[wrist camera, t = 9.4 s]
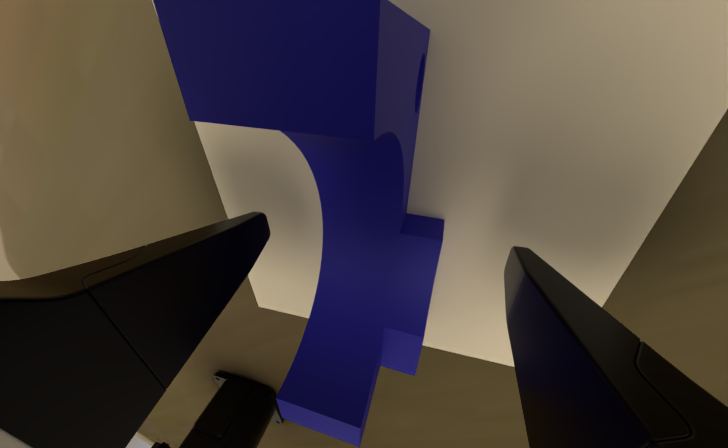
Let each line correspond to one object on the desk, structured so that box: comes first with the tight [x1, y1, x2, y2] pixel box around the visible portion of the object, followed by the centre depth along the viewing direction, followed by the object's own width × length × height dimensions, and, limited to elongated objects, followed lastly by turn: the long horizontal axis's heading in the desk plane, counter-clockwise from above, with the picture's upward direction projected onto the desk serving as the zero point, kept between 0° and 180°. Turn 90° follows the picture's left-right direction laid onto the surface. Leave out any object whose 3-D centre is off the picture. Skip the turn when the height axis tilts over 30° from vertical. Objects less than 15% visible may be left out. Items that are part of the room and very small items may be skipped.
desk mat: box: [152, 0, 728, 367], centre depth 11 cm, size 17×17×1 cm
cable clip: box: [153, 0, 445, 447], centre depth 9 cm, size 12×4×6 cm, turn 179°
